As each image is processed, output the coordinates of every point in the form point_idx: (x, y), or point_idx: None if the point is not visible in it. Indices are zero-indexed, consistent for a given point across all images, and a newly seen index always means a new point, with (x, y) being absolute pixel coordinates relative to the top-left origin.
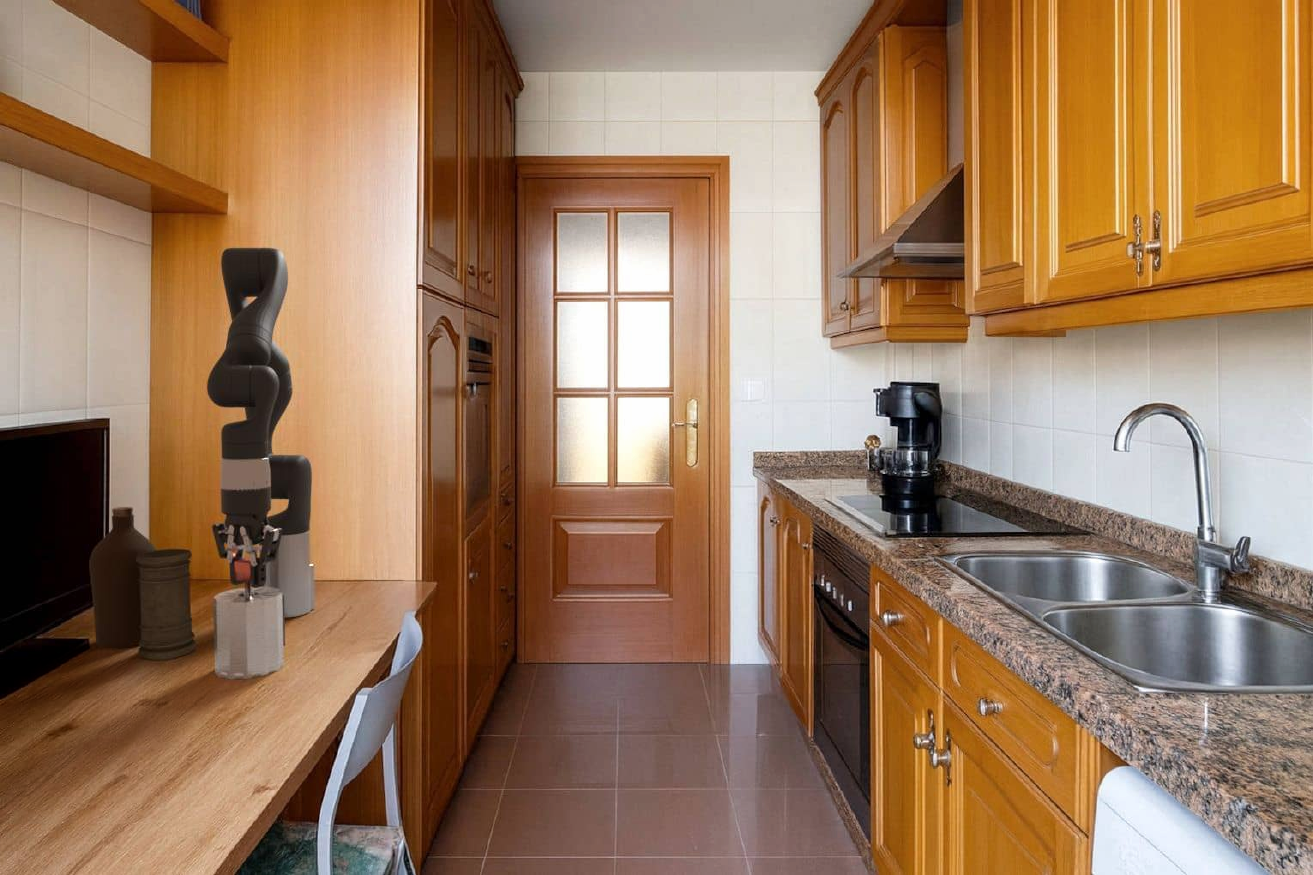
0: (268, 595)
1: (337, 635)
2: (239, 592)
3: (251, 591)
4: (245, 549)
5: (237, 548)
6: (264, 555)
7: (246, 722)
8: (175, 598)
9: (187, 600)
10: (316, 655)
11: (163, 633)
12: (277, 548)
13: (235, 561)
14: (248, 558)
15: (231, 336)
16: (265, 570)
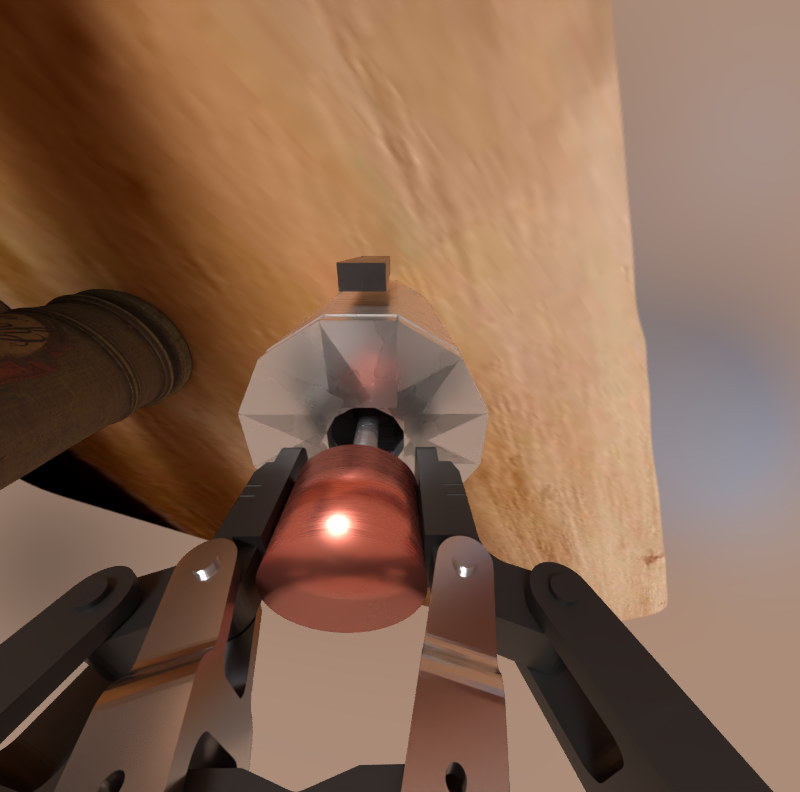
0: (451, 421)
1: None
2: (310, 436)
3: (373, 440)
4: (216, 642)
5: (238, 722)
6: (581, 698)
7: (544, 487)
8: (47, 429)
9: (34, 375)
10: (454, 207)
11: (140, 404)
12: (695, 719)
13: (312, 625)
14: (296, 565)
15: None
16: (472, 517)
